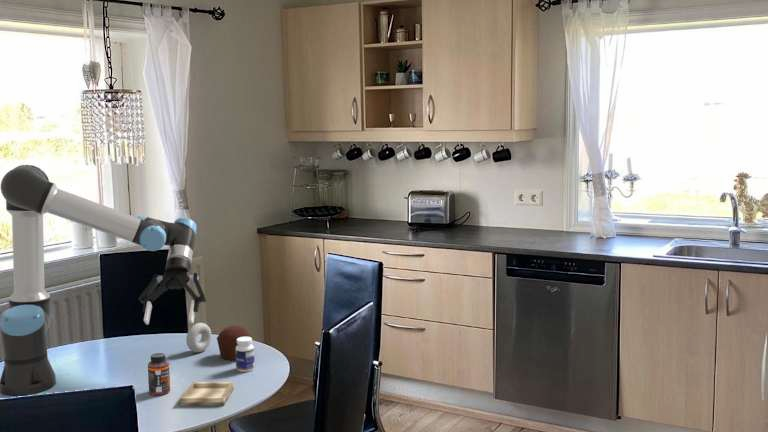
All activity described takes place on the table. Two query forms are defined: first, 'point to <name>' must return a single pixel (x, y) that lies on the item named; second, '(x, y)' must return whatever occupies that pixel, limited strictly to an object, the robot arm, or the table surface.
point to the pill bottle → (244, 354)
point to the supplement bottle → (158, 374)
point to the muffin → (230, 341)
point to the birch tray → (207, 394)
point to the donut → (193, 335)
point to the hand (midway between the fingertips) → (168, 321)
